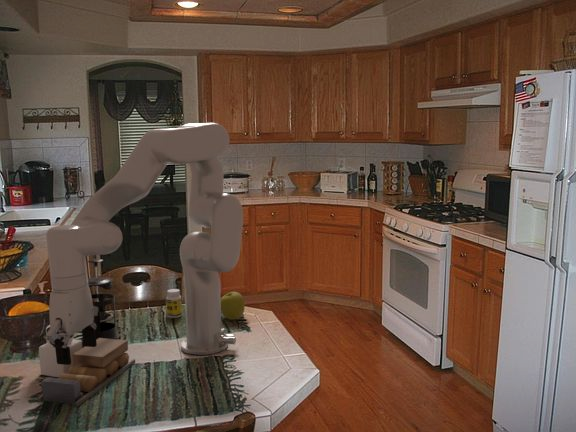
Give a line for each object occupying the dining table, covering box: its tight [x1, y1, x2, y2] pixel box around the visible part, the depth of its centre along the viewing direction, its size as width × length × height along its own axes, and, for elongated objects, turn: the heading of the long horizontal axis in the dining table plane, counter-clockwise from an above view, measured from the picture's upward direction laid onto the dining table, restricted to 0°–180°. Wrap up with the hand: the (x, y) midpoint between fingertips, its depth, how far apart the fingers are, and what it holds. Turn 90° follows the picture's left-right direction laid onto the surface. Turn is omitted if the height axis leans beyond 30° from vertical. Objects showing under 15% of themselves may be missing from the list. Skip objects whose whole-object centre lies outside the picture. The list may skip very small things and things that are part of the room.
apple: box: [221, 289, 246, 321], centre depth 176 cm, size 8×8×10 cm
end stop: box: [41, 376, 81, 406], centre depth 121 cm, size 8×2×4 cm, turn 76°
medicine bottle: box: [38, 324, 83, 378], centre depth 136 cm, size 7×7×12 cm
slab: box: [73, 338, 129, 367], centre depth 136 cm, size 8×11×2 cm
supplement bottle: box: [165, 288, 183, 319], centre depth 178 cm, size 5×5×8 cm
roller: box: [58, 373, 99, 393], centre depth 127 cm, size 8×4×4 cm, turn 77°
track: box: [37, 352, 136, 407], centre depth 131 cm, size 10×24×4 cm, turn 166°
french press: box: [87, 258, 118, 340], centre depth 158 cm, size 12×9×23 cm
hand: (77, 354), depth 126 cm, fingers open, 9 cm apart
